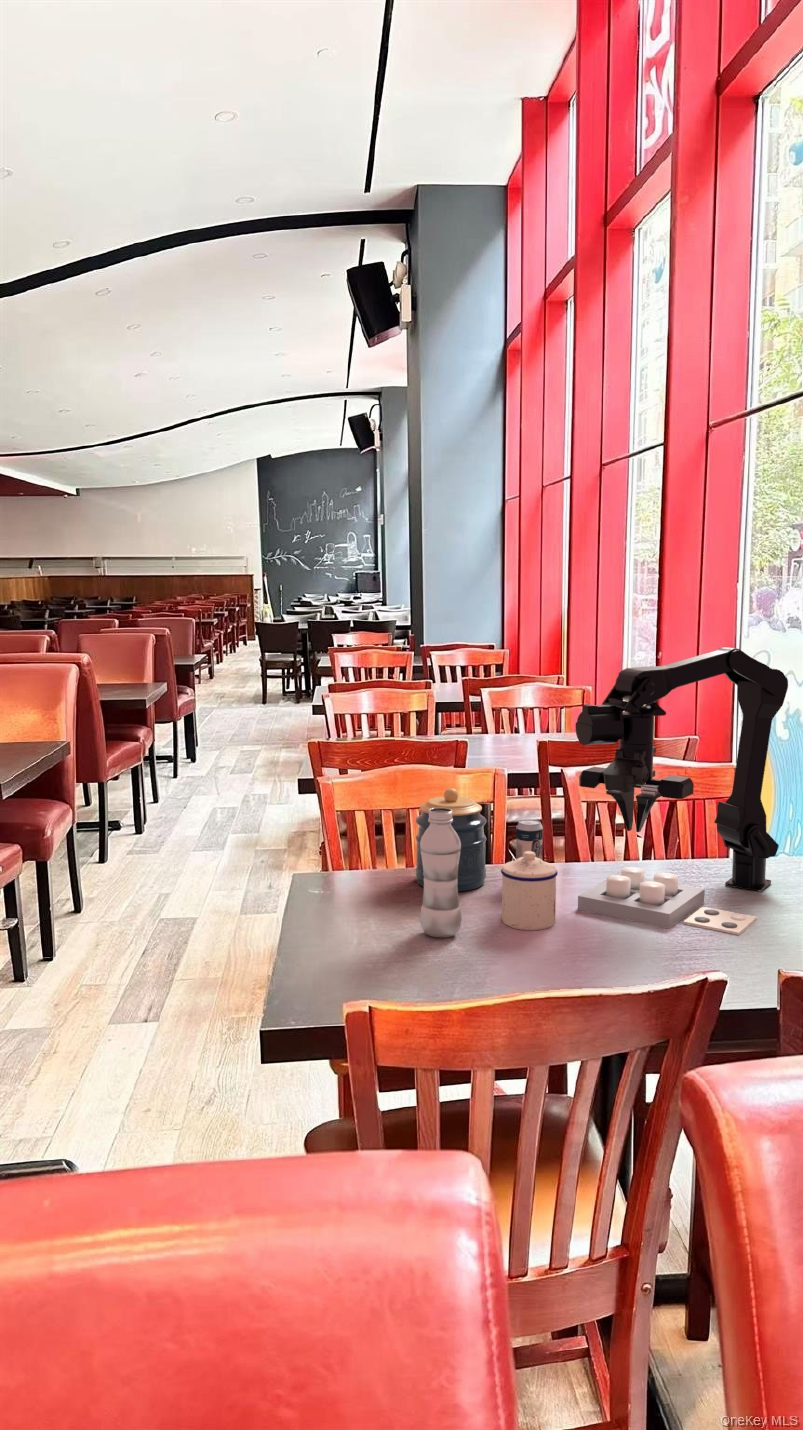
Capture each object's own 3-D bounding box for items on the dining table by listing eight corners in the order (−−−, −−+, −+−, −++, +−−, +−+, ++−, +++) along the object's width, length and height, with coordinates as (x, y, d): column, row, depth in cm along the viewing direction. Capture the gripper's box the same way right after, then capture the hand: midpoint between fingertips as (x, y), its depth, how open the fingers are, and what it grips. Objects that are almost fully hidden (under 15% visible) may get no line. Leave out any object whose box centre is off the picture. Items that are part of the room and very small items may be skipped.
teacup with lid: (567, 926, 159) (569, 856, 158) (518, 935, 156) (519, 862, 154) (528, 904, 170) (529, 838, 169) (481, 912, 167) (482, 844, 165)
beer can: (541, 891, 178) (542, 825, 176) (514, 889, 179) (515, 824, 177) (542, 883, 182) (543, 819, 181) (516, 882, 183) (517, 818, 182)
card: (702, 909, 168) (702, 905, 168) (756, 919, 162) (757, 916, 162) (683, 923, 160) (683, 920, 160) (739, 935, 155) (739, 931, 155)
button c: (612, 892, 171) (612, 874, 171) (633, 896, 169) (634, 878, 169) (602, 898, 168) (602, 879, 168) (624, 902, 166) (624, 883, 165)
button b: (658, 889, 173) (659, 871, 172) (681, 893, 170) (681, 875, 170) (649, 895, 169) (650, 877, 169) (672, 899, 167) (672, 881, 167)
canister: (401, 883, 183) (400, 789, 181) (446, 868, 193) (446, 778, 190) (455, 898, 174) (456, 799, 172) (500, 881, 184) (501, 787, 181)
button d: (645, 898, 168) (645, 880, 167) (667, 902, 165) (668, 884, 165) (635, 904, 165) (636, 885, 164) (658, 909, 162) (659, 890, 162)
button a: (626, 883, 176) (626, 865, 176) (647, 887, 174) (648, 869, 173) (616, 889, 173) (617, 871, 172) (638, 893, 171) (639, 875, 170)
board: (617, 886, 180) (617, 873, 180) (704, 902, 171) (704, 889, 171) (577, 909, 168) (577, 895, 167) (669, 928, 158) (669, 914, 158)
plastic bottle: (433, 945, 152) (433, 817, 149) (412, 931, 158) (412, 808, 155) (469, 938, 155) (470, 812, 152) (447, 925, 160) (447, 803, 158)
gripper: (565, 743, 169) (563, 833, 171) (671, 754, 158) (668, 849, 160) (594, 735, 178) (592, 820, 180) (696, 744, 167) (693, 835, 169)
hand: (633, 831), depth 172 cm, fingers closed
